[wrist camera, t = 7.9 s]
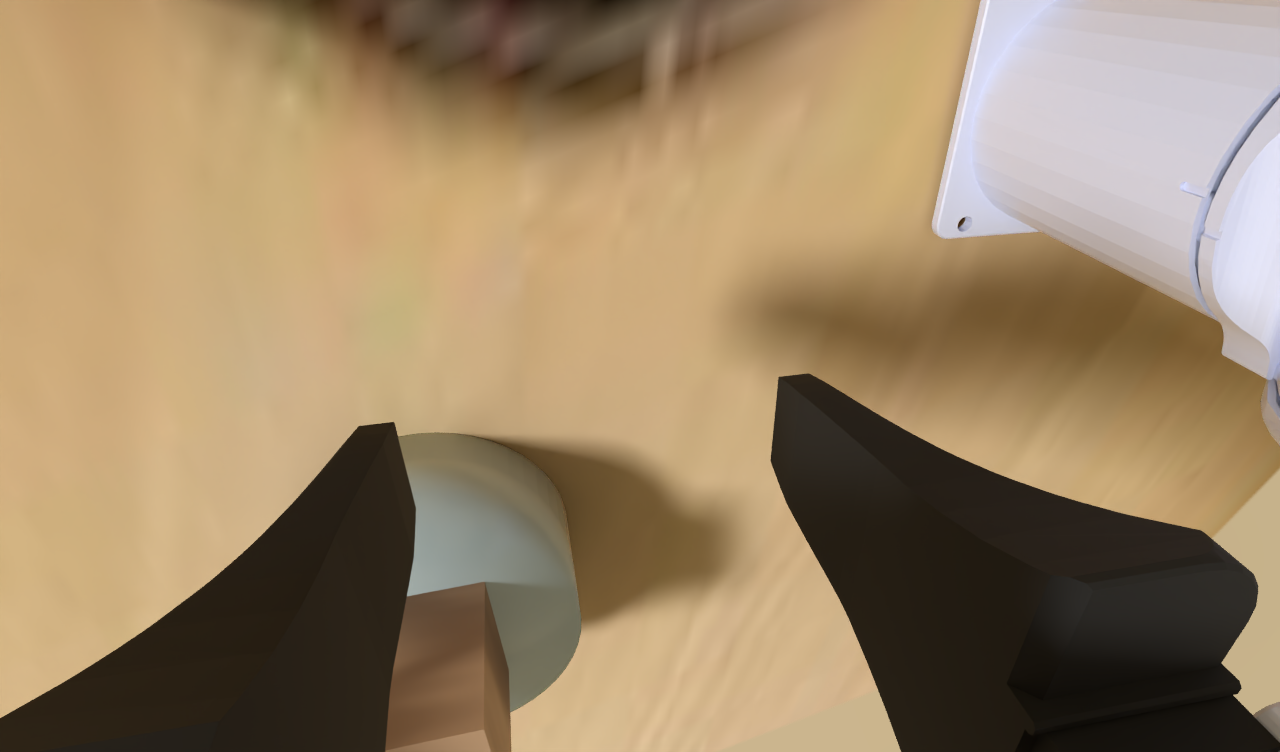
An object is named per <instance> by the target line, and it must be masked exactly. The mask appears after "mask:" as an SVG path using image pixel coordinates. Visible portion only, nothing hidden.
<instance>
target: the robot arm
mask: <svg viewBox="0 0 1280 752" xmlns="http://www.w3.org/2000/svg"><path fill="white" fill-rule="evenodd" d="M964 217H965V222H964V224H963V225H962V226H960V227H958V223H959V221H960V220H961V219H962V218H964ZM932 230H933V232H934V233H935V234H936V235H938V236H939V237H941V238H944V239H953V238H966V237H979V236H992V235H1005V234H1018V233H1031V232H1042V233H1044V234H1046V235H1048V236H1050V237H1052V238H1054V239H1056V240H1058V241H1060V242H1062V243H1064V244H1066V245H1068V246H1070V247H1072V248H1074V249H1076V250H1078V251H1080V252H1082V253H1084V254H1086V255H1088V256H1090V257H1092V258H1094V259H1096V260H1098V261H1100V262H1102V263H1103V264H1105V265H1107V266H1109V267H1111V268H1113V269H1115V270H1117V271H1119V272H1121V273H1123V274H1125V275H1127V276H1129V277H1131V278H1133V279H1135V280H1137V281H1139V282H1141V283H1143V284H1145V285H1147V286H1149V287H1151V288H1153V289H1155V290H1157V291H1159V292H1161V293H1163V294H1165V295H1167V296H1169V297H1171V298H1173V299H1175V300H1177V301H1179V302H1181V303H1182V304H1184V305H1186V306H1188V307H1190V308H1192V309H1194V310H1196V311H1198V312H1200V313H1202V314H1204V315H1206V316H1208V317H1210V318H1212V319H1214V320H1216V321H1218V322H1220V323H1221V325H1222V328H1223V333H1224V341H1223V347H1222V355H1223V356H1225V357H1227V358H1229V359H1231V360H1233V361H1234V362H1236V363H1238V364H1240V365H1242V366H1243V367H1245V368H1247V369H1249V370H1251V371H1253V372H1254V373H1256V374H1258V375H1260V376H1262V377H1263V378H1265V379H1267V381H1266V383H1265V386H1264V389H1263V393H1262V397H1261V401H1260V402H1261V410H1262V418H1263V420H1264V423H1265V425H1266V427H1267V429H1268V431H1269V433H1270V434H1271V436H1272V437H1273V438H1274V439H1275V441H1276V442H1277V443H1278V444H1279V446H1280V0H981V2H980V7H979V11H978V16H977V20H976V25H975V29H974V34H973V39H972V43H971V48H970V52H969V57H968V61H967V66H966V70H965V75H964V79H963V84H962V89H961V93H960V98H959V102H958V107H957V111H956V116H955V120H954V125H953V130H952V134H951V139H950V143H949V148H948V152H947V157H946V161H945V166H944V170H943V175H942V180H941V184H940V189H939V193H938V198H937V202H936V207H935V211H934V216H933V221H932ZM771 463H772V466H773V469H774V471H775V474H776V477H777V480H778V482H779V485H780V488H781V490H782V493H783V495H784V498H785V500H786V503H787V505H788V507H789V509H790V510H791V512H792V514H793V516H794V518H795V520H796V522H797V523H798V525H799V527H800V529H801V531H802V533H803V534H804V536H805V538H806V540H807V542H808V543H809V545H810V547H811V549H812V551H813V552H814V554H815V556H816V558H817V560H818V561H819V563H820V565H821V567H822V569H823V570H824V572H825V574H826V576H827V578H828V579H829V581H830V583H831V585H832V586H833V588H834V590H835V592H836V594H837V595H838V597H839V599H840V601H841V603H842V605H843V608H844V610H845V612H846V614H847V616H848V618H849V620H850V622H851V625H852V627H853V630H854V632H855V634H856V637H857V639H858V641H859V644H860V646H861V649H862V651H863V653H864V656H865V658H866V660H867V663H868V665H869V668H870V670H871V673H872V676H873V678H874V681H875V683H876V686H877V688H878V691H879V693H880V696H881V698H882V701H883V703H884V706H885V708H886V711H887V714H888V717H889V719H890V722H891V725H892V727H893V730H894V733H895V736H896V739H897V741H898V744H899V746H900V750H901V752H1280V702H1277V703H1275V704H1272V705H1269V706H1266V707H1265V708H1263V709H1261V710H1260V711H1258V712H1256V713H1255V714H1254V715H1252V714H1251V713H1250V712H1249V711H1248V710H1247V709H1246V708H1245V707H1244V706H1243V705H1242V704H1241V703H1240V702H1239V701H1238V700H1237V699H1236V698H1235V697H1234V696H1233V695H1234V694H1238V692H1239V691H1240V690H1241V685H1240V681H1239V680H1238V679H1237V678H1236V677H1235V676H1234V675H1233V674H1232V673H1231V672H1230V671H1228V670H1227V669H1226V668H1225V667H1224V666H1223V665H1222V664H1221V662H1222V661H1223V659H1224V658H1225V656H1226V655H1227V653H1228V652H1229V650H1230V649H1231V647H1232V646H1233V644H1234V642H1235V641H1236V639H1237V638H1238V636H1239V635H1240V633H1241V632H1242V630H1243V629H1244V627H1245V626H1246V624H1247V623H1248V621H1249V619H1250V617H1251V615H1252V613H1253V611H1254V609H1255V607H1256V602H1257V595H1258V584H1257V582H1256V579H1255V576H1254V574H1253V573H1252V572H1251V571H1249V570H1248V569H1247V568H1246V567H1245V566H1243V565H1242V564H1241V563H1240V562H1239V561H1237V560H1236V559H1235V558H1234V557H1232V555H1230V554H1229V553H1228V552H1227V551H1226V550H1224V549H1223V548H1222V547H1221V546H1220V545H1218V544H1217V543H1216V542H1214V540H1212V539H1211V538H1210V537H1209V536H1208V535H1206V534H1205V533H1204V532H1202V531H1201V530H1196V529H1191V528H1187V527H1182V526H1177V525H1172V524H1168V523H1163V522H1158V521H1154V520H1149V519H1144V518H1140V517H1135V516H1130V515H1126V514H1122V513H1118V512H1114V511H1111V510H1107V509H1103V508H1100V507H1096V506H1092V505H1089V504H1085V503H1081V502H1078V501H1075V500H1071V499H1068V498H1065V497H1062V496H1058V495H1055V494H1052V493H1049V492H1046V491H1043V490H1040V489H1037V488H1035V487H1032V486H1029V485H1026V484H1023V483H1020V482H1017V481H1015V480H1012V479H1009V478H1007V477H1004V476H1001V475H999V474H996V473H994V472H991V471H989V470H987V469H984V468H982V467H980V466H977V465H975V464H973V463H971V462H968V461H966V460H964V459H961V458H959V457H957V456H955V455H953V454H950V453H948V452H946V451H944V450H942V449H940V448H938V447H936V446H934V445H932V444H930V443H929V442H927V441H925V440H923V439H921V438H919V437H917V436H915V435H913V434H911V433H910V432H908V431H906V430H904V429H902V428H901V427H899V426H897V425H895V424H893V423H892V422H890V421H888V420H887V419H885V418H883V417H881V416H880V415H878V414H876V413H875V412H873V411H871V410H870V409H868V408H866V407H865V406H863V405H861V404H860V403H858V402H857V401H855V400H853V399H852V398H850V397H848V396H847V395H845V394H844V393H842V392H840V391H839V390H837V389H835V388H834V387H832V386H830V385H829V384H827V383H825V382H824V381H822V380H820V379H818V378H817V377H815V376H813V375H811V374H800V375H792V376H783V377H779V380H778V390H777V400H776V411H775V421H774V431H773V442H772V452H771ZM415 525H416V506H415V502H414V498H413V494H412V490H411V486H410V482H409V478H408V475H407V471H406V467H405V463H404V459H403V455H402V451H401V447H400V443H399V439H398V435H397V431H396V427H395V424H394V422H390V423H382V424H373V425H365V426H359V427H358V428H357V429H356V430H355V431H354V432H353V434H352V435H351V436H350V437H349V438H348V439H347V440H346V442H345V443H344V444H343V445H342V446H341V448H340V449H339V450H338V451H337V452H336V454H335V455H334V456H333V457H332V458H331V460H330V461H329V462H328V463H327V464H326V466H325V467H324V468H323V469H322V470H321V472H320V473H319V474H318V475H317V476H316V477H315V479H314V480H313V481H312V482H311V483H310V484H309V485H308V487H307V488H306V489H305V490H304V491H303V492H302V493H301V495H300V496H299V497H298V498H297V499H296V500H295V501H294V502H293V504H292V505H291V506H290V507H289V508H288V509H287V510H286V511H285V512H284V513H283V514H282V515H281V516H280V517H279V518H278V519H277V520H276V521H275V522H274V523H273V524H272V525H271V526H270V527H269V528H268V529H267V530H266V531H265V532H264V533H263V534H262V535H261V536H260V537H259V538H258V539H257V540H256V541H255V542H254V543H253V544H252V545H251V546H250V547H249V548H248V549H247V550H246V551H244V552H243V553H242V554H241V555H240V556H239V557H238V558H237V559H236V560H234V561H233V562H232V563H231V564H230V565H229V566H227V567H226V568H225V569H224V570H223V571H222V572H220V573H219V574H218V575H217V576H216V577H215V578H213V579H212V580H211V581H210V582H208V583H207V584H206V585H205V586H204V587H202V588H201V589H200V590H198V591H197V592H196V593H194V594H193V595H192V596H190V597H189V598H188V599H186V600H185V601H184V602H182V603H181V604H180V605H178V606H177V607H176V608H174V609H173V610H172V611H170V612H169V613H168V614H166V615H165V616H164V617H162V618H161V619H160V620H158V621H157V622H156V623H154V624H153V625H152V626H150V627H149V628H147V629H146V630H145V631H143V632H142V633H140V634H139V635H137V636H136V637H134V638H133V639H131V640H130V641H128V642H127V643H125V644H124V645H122V646H121V647H119V648H118V649H116V650H115V651H113V652H112V653H110V654H109V655H107V656H105V657H104V658H102V659H101V660H99V661H98V662H96V663H94V664H93V665H91V666H90V667H88V668H86V669H85V670H83V671H82V672H80V673H78V674H77V675H75V676H73V677H72V678H70V679H68V680H67V681H65V682H64V683H62V684H60V685H58V686H57V687H55V688H53V689H51V690H49V691H48V692H46V693H44V694H42V695H41V696H39V697H37V698H35V699H34V700H32V701H30V702H28V703H27V704H25V705H23V706H21V707H19V708H18V709H16V710H14V711H12V712H11V713H9V714H7V715H5V716H4V717H2V718H0V752H385V748H386V735H387V722H388V710H389V697H390V688H391V681H392V674H393V667H394V662H395V657H396V651H397V646H398V641H399V635H400V630H401V625H402V620H403V614H404V609H405V604H406V598H407V593H408V587H409V582H410V576H411V571H412V565H413V559H414V545H415Z"/></svg>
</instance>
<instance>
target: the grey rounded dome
mask: <svg viewBox="0 0 1280 752" xmlns="http://www.w3.org/2000/svg"><path fill="white" fill-rule="evenodd" d="M398 439H399V443H400V447H401V451H402V455H403V459H404V463H405V467H406V471H407V475H408V478H409V482H410V486H411V490H412V494H413V498H414V502H415V506H416V525H415V545H414V559H413V565H412V571H411V576H410V582H409V587H408V593H407V596H412V595H417V594H422V593H427V592H433V591H438V590H443V589H448V588H454V587H459V586H464V585H469V584H475V583H480V582H485V585H486V588H487V592H488V595H489V599H490V603H491V606H492V610H493V614H494V617H495V621H496V625H497V628H498V632H499V636H500V639H501V643H502V647H503V650H504V654H505V658H506V661H507V665H508V668H509V690H510V712H512V711H514V710H516V709H518V708H520V707H521V706H523V705H525V704H526V703H528V702H530V701H531V700H533V699H534V698H536V697H537V696H538V695H539V694H541V693H542V692H543V691H545V690H546V689H547V688H548V687H549V686H550V685H551V684H552V683H553V682H554V681H555V680H557V678H558V677H559V676H560V675H561V673H562V672H563V671H564V670H565V669H566V667H567V665H568V664H569V662H570V660H571V659H572V657H573V655H574V653H575V650H576V648H577V645H578V642H579V637H580V633H581V613H580V606H579V599H578V592H577V585H576V578H575V571H574V564H573V557H572V550H571V542H570V535H569V528H568V521H567V515H566V509H565V506H564V504H563V501H562V498H561V496H560V494H559V492H558V490H557V489H556V487H555V485H554V484H553V483H552V481H551V480H550V479H549V478H548V476H547V475H546V474H545V473H544V472H543V471H542V470H541V469H540V468H539V467H538V466H536V465H535V464H534V463H533V462H531V461H530V460H528V459H527V458H526V457H524V456H523V455H521V454H519V453H517V452H515V451H514V450H512V449H510V448H508V447H505V446H503V445H500V444H498V443H495V442H493V441H489V440H486V439H482V438H478V437H474V436H468V435H461V434H454V433H421V434H412V435H406V436H399V437H398Z"/></svg>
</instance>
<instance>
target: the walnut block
mask: <svg viewBox="0 0 1280 752" xmlns="http://www.w3.org/2000/svg"><path fill="white" fill-rule="evenodd" d="M385 752H511V725H510V690H509V668H508V665H507V661H506V658H505V654H504V650H503V647H502V643H501V639H500V636H499V632H498V628H497V625H496V621H495V617H494V614H493V610H492V606H491V603H490V599H489V595H488V592H487V588H486V585H485V582H480V583H475V584H469V585H464V586H459V587H454V588H448V589H443V590H438V591H433V592H427V593H422V594H417V595H412V596H407V598H406V604H405V609H404V614H403V620H402V625H401V630H400V635H399V641H398V646H397V651H396V657H395V662H394V667H393V674H392V681H391V688H390V697H389V710H388V722H387V735H386V748H385Z"/></svg>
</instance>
